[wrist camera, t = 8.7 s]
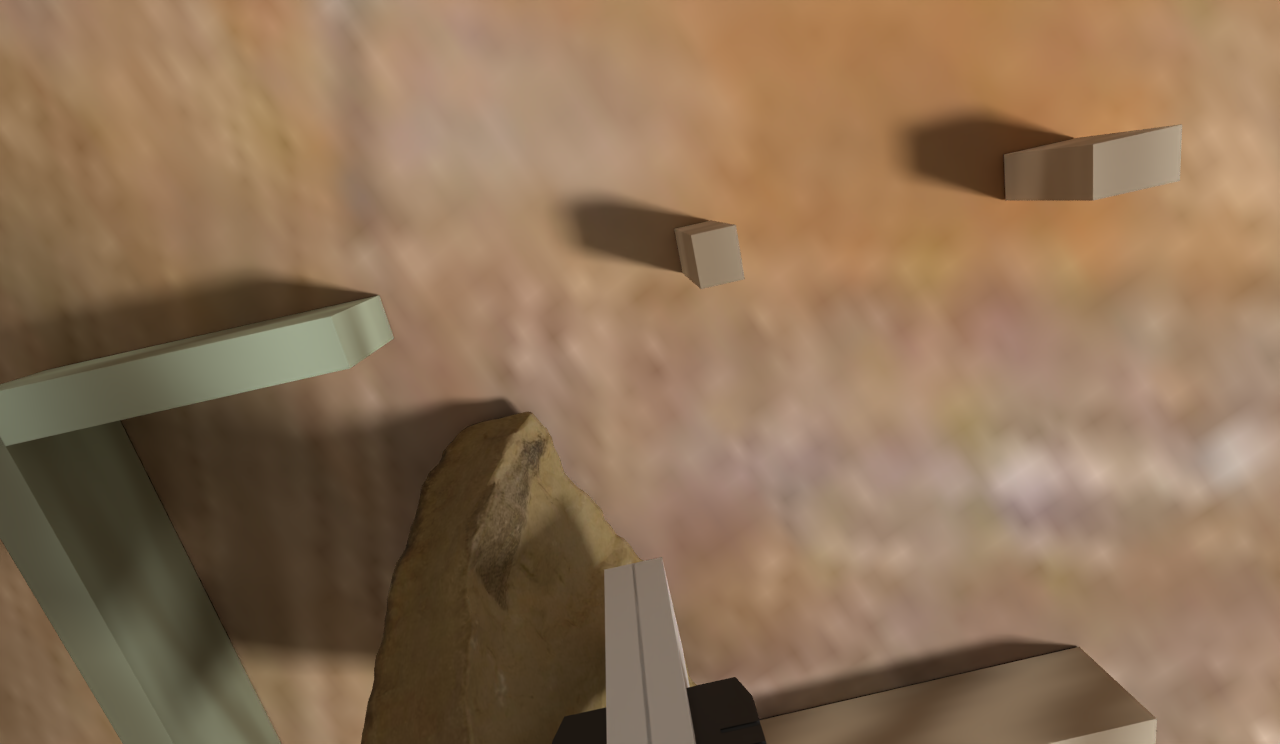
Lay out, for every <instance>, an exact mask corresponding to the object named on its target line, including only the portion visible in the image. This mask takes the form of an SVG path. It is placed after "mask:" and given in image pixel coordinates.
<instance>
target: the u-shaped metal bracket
mask: <svg viewBox="0 0 1280 744" xmlns="http://www.w3.org/2000/svg"><path fill="white" fill-rule="evenodd" d="M1181 140H1182V125H1174V126H1166V127H1159V128H1151V129H1143V130H1135V131H1128V132H1120V133H1112V134H1104V135H1097V136H1089V137H1081V138H1075V139H1070V140H1066V141H1062V142H1057V143H1053V144H1048V145H1044V146H1039V147H1035V148H1030V149H1026V150H1022V151H1017V152H1013V153H1008V154H1004V170H1005V196H1006V200H1097V199H1102V198H1106V197H1111V196H1115V195H1119V194H1124V193H1128V192H1133V191H1137V190H1141V189H1146V188H1150V187H1155V186H1159V185H1164V184H1168V183H1172V182H1177V181H1180V163H1181ZM674 231H675V236H676V241H677V246H678V252H679V257H680V262H681V267H682V272H683V274H684V275H685V276H686V277H688V278H689V279H690V280H691V281H692V282H693V283H695V284H696V285H697V286H698V287H699V288H700V289H703V288H708V287H712V286H717V285H721V284H725V283H730V282H734V281H739V280H743V279H745V278H744V272H743V266H742V260H741V254H740V248H739V241H738V235H737V229H736V225H733V224H727V223H722V222H716V221H706V222H702V223H698V224H693V225H689V226H684V227H680V228H675V229H674ZM392 339H394V337H393V334H392V331H391V328H390V325H389V323H388V320H387V317H386V314H385V311H384V308H383V305H382V302H381V299H380V296H379V295H378V296H374V297H369V298H365V299H360V300H356V301H351V302H347V303H342V304H338V305H334V306H329V307H325V308H320V309H316V310H311V311H307V312H303V313H298V314H294V315H289V316H285V317H280V318H276V319H271V320H267V321H263V322H258V323H254V324H249V325H245V326H240V327H236V328H231V329H227V330H223V331H218V332H214V333H209V334H205V335H200V336H196V337H192V338H187V339H183V340H178V341H174V342H169V343H165V344H160V345H156V346H152V347H147V348H143V349H138V350H134V351H129V352H125V353H121V354H116V355H112V356H107V357H103V358H98V359H94V360H89V361H85V362H81V363H76V364H72V365H67V366H63V367H58V368H54V369H50V370H45V371H42V372H39V373H35V374H32V375H29V376H26V377H22V378H19V379H16V380H13V381H10V382H6V383H3V384H0V539H1V540H2V542H3V544H4V545H5V547H6V549H7V550H8V552H9V554H10V555H11V557H12V559H13V560H14V562H15V564H16V565H17V567H18V569H19V570H20V572H21V574H22V576H23V577H24V579H25V581H26V582H27V584H28V586H29V587H30V589H31V591H32V592H33V594H34V596H35V597H36V599H37V601H38V602H39V604H40V606H41V607H42V609H43V611H44V612H45V614H46V616H47V617H48V619H49V621H50V622H51V624H52V626H53V627H54V629H55V631H56V632H57V634H58V636H59V637H60V639H61V641H62V643H63V644H64V646H65V648H66V649H67V651H68V653H69V654H70V656H71V658H72V659H73V661H74V663H75V664H76V666H77V668H78V669H79V671H80V673H81V674H82V676H83V678H84V679H85V681H86V683H87V684H88V686H89V688H90V689H91V691H92V693H93V694H94V696H95V698H96V699H97V701H98V703H99V704H100V706H101V708H102V709H103V711H104V713H105V715H106V716H107V718H108V720H109V721H110V723H111V725H112V726H113V728H114V730H115V731H116V733H117V735H118V736H119V738H120V740H121V741H122V743H123V744H281V742H280V740H279V738H278V736H277V734H276V732H275V730H274V728H273V726H272V724H271V722H270V720H269V718H268V716H267V714H266V712H265V710H264V708H263V706H262V704H261V702H260V700H259V698H258V696H257V694H256V692H255V690H254V688H253V686H252V684H251V682H250V680H249V678H248V676H247V674H246V672H245V670H244V668H243V666H242V664H241V662H240V660H239V658H238V656H237V654H236V652H235V650H234V648H233V646H232V644H231V642H230V640H229V638H228V636H227V634H226V632H225V630H224V628H223V626H222V624H221V622H220V620H219V618H218V616H217V614H216V612H215V610H214V608H213V606H212V604H211V602H210V600H209V598H208V596H207V594H206V592H205V590H204V588H203V586H202V584H201V582H200V580H199V578H198V576H197V574H196V572H195V570H194V568H193V566H192V564H191V562H190V560H189V558H188V556H187V554H186V552H185V550H184V548H183V546H182V544H181V542H180V540H179V538H178V536H177V534H176V532H175V530H174V528H173V526H172V524H171V522H170V520H169V518H168V516H167V514H166V512H165V510H164V508H163V506H162V504H161V502H160V500H159V498H158V496H157V494H156V492H155V490H154V488H153V486H152V484H151V482H150V480H149V478H148V476H147V474H146V472H145V470H144V468H143V466H142V464H141V462H140V460H139V458H138V456H137V454H136V452H135V450H134V448H133V446H132V444H131V442H130V440H129V438H128V436H127V434H126V432H125V430H124V428H123V426H122V424H121V422H120V420H123V419H128V418H132V417H137V416H141V415H146V414H150V413H154V412H159V411H163V410H168V409H172V408H177V407H181V406H185V405H190V404H194V403H199V402H203V401H208V400H212V399H216V398H221V397H225V396H230V395H234V394H239V393H243V392H247V391H252V390H256V389H261V388H265V387H269V386H274V385H278V384H283V383H287V382H292V381H296V380H300V379H305V378H309V377H314V376H318V375H323V374H327V373H331V372H336V371H340V370H345V369H349V368H351V367H353V366H354V365H356V364H357V363H359V362H360V361H362V360H363V359H364V358H366V357H367V356H369V355H370V354H372V353H373V352H375V351H376V350H378V349H379V348H381V347H382V346H384V345H385V344H386V343H388V342H389V341H391V340H392ZM1156 722H1157V719H1156V718H1155V717H1154V716H1153V715H1152V714H1151V713H1150V712H1149V711H1148V710H1147V709H1146V708H1144V707H1143V706H1142V705H1141V704H1140V703H1139V702H1138V701H1137V700H1136V699H1135V698H1134V697H1133V696H1132V695H1130V694H1129V693H1128V692H1127V691H1126V690H1125V689H1124V688H1123V687H1122V686H1121V685H1120V684H1119V683H1118V682H1116V681H1115V680H1114V679H1113V678H1112V677H1111V676H1110V675H1109V674H1108V673H1107V672H1106V671H1105V670H1104V669H1102V668H1101V667H1100V666H1099V665H1098V664H1097V663H1096V662H1095V661H1094V660H1093V659H1092V658H1091V657H1090V656H1088V655H1087V654H1086V653H1085V652H1084V651H1083V650H1082V649H1081V648H1080V647H1076V648H1072V649H1067V650H1063V651H1059V652H1054V653H1050V654H1046V655H1041V656H1037V657H1033V658H1028V659H1024V660H1020V661H1015V662H1011V663H1007V664H1002V665H998V666H994V667H989V668H985V669H981V670H976V671H972V672H967V673H963V674H959V675H954V676H950V677H946V678H941V679H937V680H933V681H928V682H924V683H920V684H915V685H911V686H907V687H902V688H898V689H894V690H889V691H885V692H881V693H876V694H872V695H868V696H863V697H859V698H855V699H850V700H846V701H841V702H837V703H833V704H828V705H824V706H820V707H815V708H811V709H807V710H802V711H798V712H794V713H789V714H785V715H781V716H776V717H772V718H768V719H763V720H760V724H761V727H762V730H763V733H764V736H765V740H766V744H1156Z"/></svg>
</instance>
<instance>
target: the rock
mask: <svg viewBox="0 0 1280 744" xmlns="http://www.w3.org/2000/svg"><path fill="white" fill-rule="evenodd" d="M642 561H643V560H641V559H640V558H638V556H637V555H636V554H635V552H634V551H633V549H632V548H631V546H630V545H629V544H628V543H627V542H626V541H625V539H623V538H621V537H619V536H618V535H616V534H615V532H614V531H613V529H612V527H611V526H610V525H609V524H608V523H607V522H606V521H605V520H604V517H603V513H602V510H601V509H600V508H599V507H598V506H597V505H596V504H595V503H594V501H593V500H592V499H591V498H590V497H589V496H588V495H587V494H586V493H585V492H584V491H582V490H580V489H579V488H577V487H576V486H575V485H574V483H573V482H572V481H571V480H570V479H569V478H568V477H567V476H566V475H565V473H564V471H563V468H562V465H561V461H560V458H559V456H558V454H557V452H556V450H555V448H554V445H553V441H552V437H551V436H550V434H549V433H548V430H547V428H545V427H544V426H543V425H542V424H541V423H540V422H539V420H538V419H537V418H536V417H535V416H534V415H533V414H532V413H531V412H524V413H518V414H515V415H511V416H507V417H504V418H500V419H494V420H489V421H484V422H480V423H478V424H475V425H472V426H469V427H467V428H465V429H464V430H463V431H461V432H460V433H459V434H458V435H457V436H456V438H455V439H454V441H453V442H451V443H450V444H449V445H448V447H447V448H446V449H445V451H444V452H443V455H442V459H441V461H440V463H439V464H438V465H437V466H436V467H435V468H434V469H433V470H432V471H431V472H430V473H429V474H428V477H427V479H426V481H425V482H424V484H423V485H422V489H421V495H420V500H419V504H418V509H417V513H416V517H415V520H414V522H413V524H412V526H411V529H410V534H409V537H408V541H407V545H406V549H405V550H404V552H403V554H402V556H401V557H400V559H399V560H398V562H397V563H396V566H395V569H394V573H393V576H392V581H391V586H390V590H389V593H388V599H387V613H386V618H385V628H384V633H383V638H382V643H381V646H380V649H379V651H378V653H377V655H376V661H375V668H374V683H373V689H372V692H371V695H370V698H369V701H368V705H367V711H366V717H365V724H364V729H363V733H362V741H361V744H552V741H553V739H554V737H555V735H556V733H557V731H558V729H559V727H560V724H561V722H562V720H563V718H564V716H569V715H573V714H578V713H583V712H587V711H592V710H596V709H601V708H605V707H606V653H605V584H604V570H605V569H610V568H615V567H619V566H624V565H628V564H633V563H637V562H642ZM673 608H674V606H673ZM674 612H675V609H674ZM678 630H679V629H678ZM684 659H685V657H684ZM685 664H686V661H685ZM686 670H687V675H688V681H689V686H690V687H692V686H697V685H696V684H695V683H694V682H692V680H691V679H690V677H689V674H688V669H687V665H686Z"/></svg>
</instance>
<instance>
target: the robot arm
mask: <svg viewBox="0 0 1280 744" xmlns="http://www.w3.org/2000/svg"><path fill="white" fill-rule="evenodd" d="M604 584H605V653H606V707H605V708H601V709H596V710H592V711H587V712H583V713H578V714H573V715H569V716H564V718H563V720H562V722H561V724H560V727H559V729H558V731H557V733H556V735H555V737H554V739H553V741H552V744H766V740H765V736H764V733H763V730H762V727H761V724H760V720H759V717H758V713H757V710H756V707H755V704H754V700H753V697H752V695H751V694H750V693H749V692H748V691H747V690H746V688H745V687H744V686H743V685H742V684H741V683H740V682H739V681H738V679H737V678H736V677H733V678H729V679H724V680H720V681H715V682H711V683H706V684H702V685H697V686H692V687H690V686H689V681H688V675H687V670H686V664H685V659H684V654H683V648H682V644H681V639H680V635H679V630H678V626H677V621H676V617H675V613H674V608H673V604H672V599H671V595H670V591H669V586H668V582H667V577H666V573H665V569H664V564H663V560H662V557H660V558H655V559H651V560H646V561H642V562H637V563H633V564H628V565H624V566H619V567H615V568H610V569H605V570H604Z"/></svg>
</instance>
